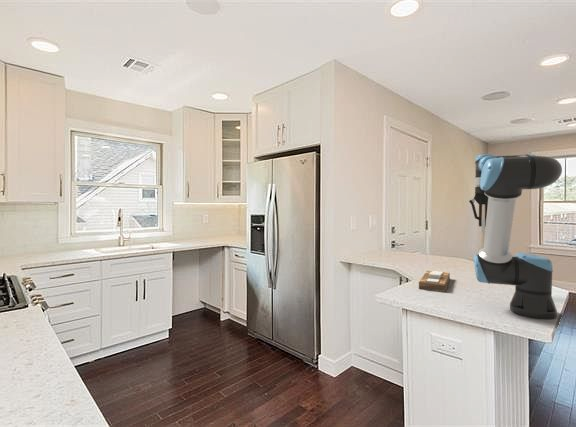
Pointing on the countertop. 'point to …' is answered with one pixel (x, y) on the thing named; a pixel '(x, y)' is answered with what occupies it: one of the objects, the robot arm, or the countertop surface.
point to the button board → (434, 286)
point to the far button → (438, 272)
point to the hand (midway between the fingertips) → (483, 233)
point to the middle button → (435, 275)
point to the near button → (433, 280)
